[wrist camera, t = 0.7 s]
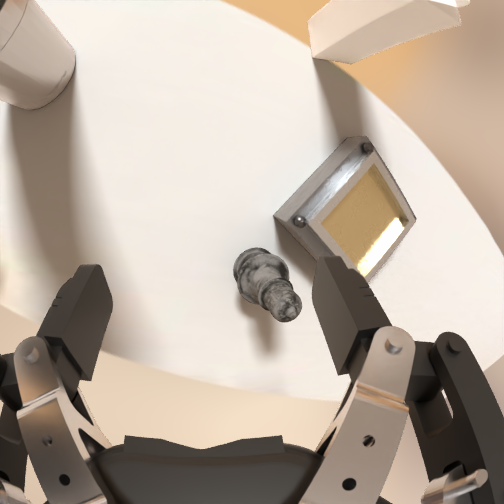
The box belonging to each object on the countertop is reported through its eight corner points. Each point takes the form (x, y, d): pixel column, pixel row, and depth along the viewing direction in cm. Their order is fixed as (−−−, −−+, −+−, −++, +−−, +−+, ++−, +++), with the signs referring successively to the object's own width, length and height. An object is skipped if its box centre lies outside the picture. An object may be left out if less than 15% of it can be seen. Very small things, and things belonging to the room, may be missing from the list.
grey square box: (273, 215, 33) (292, 224, 27) (347, 137, 32) (374, 135, 27) (338, 284, 38) (360, 301, 33) (397, 213, 38) (424, 221, 33)
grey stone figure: (221, 278, 33) (247, 333, 22) (248, 236, 32) (288, 272, 21) (261, 298, 35) (300, 354, 24) (287, 259, 35) (338, 301, 24)
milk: (344, 29, 28) (466, -29, 7) (351, 65, 30) (489, 20, 9) (305, 20, 26) (423, -62, 6) (311, 58, 28) (450, -13, 8)
